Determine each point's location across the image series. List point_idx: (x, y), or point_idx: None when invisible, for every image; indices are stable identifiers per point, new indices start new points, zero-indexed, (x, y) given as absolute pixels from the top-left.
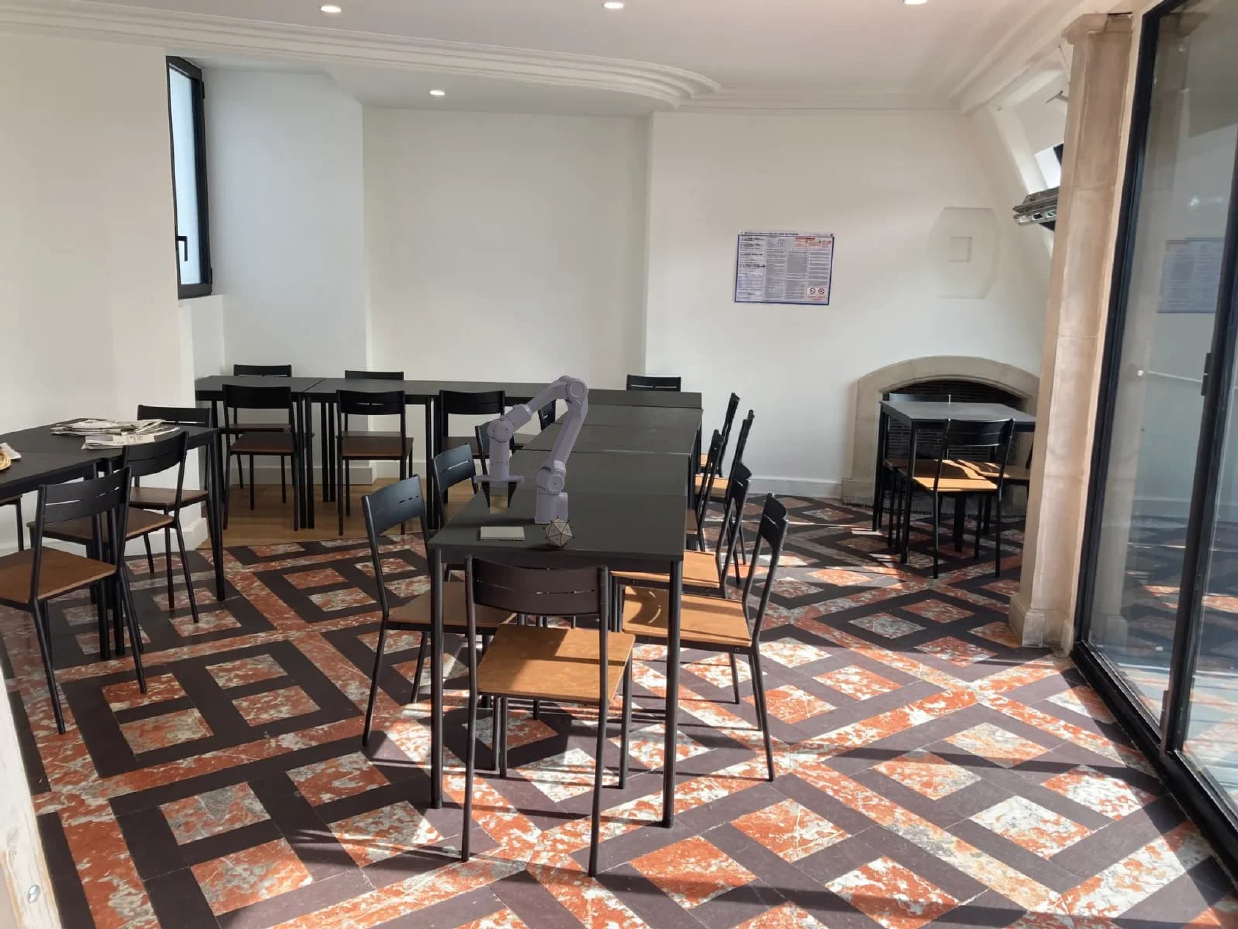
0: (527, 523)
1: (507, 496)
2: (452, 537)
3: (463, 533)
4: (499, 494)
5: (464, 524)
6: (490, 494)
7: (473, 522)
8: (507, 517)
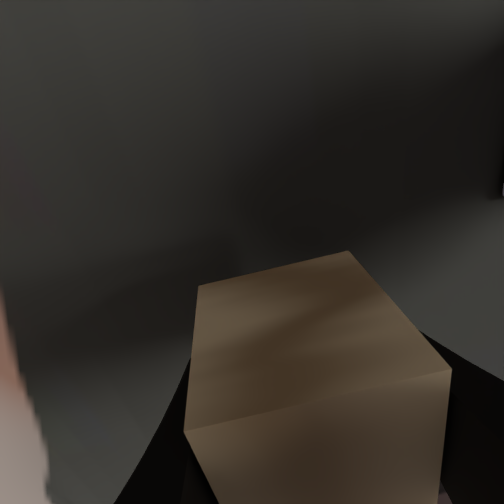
0: (449, 187)
1: (437, 491)
2: (120, 490)
3: (139, 441)
4: (336, 451)
5: (62, 311)
6: (212, 480)
7: (93, 254)
8: (301, 26)
